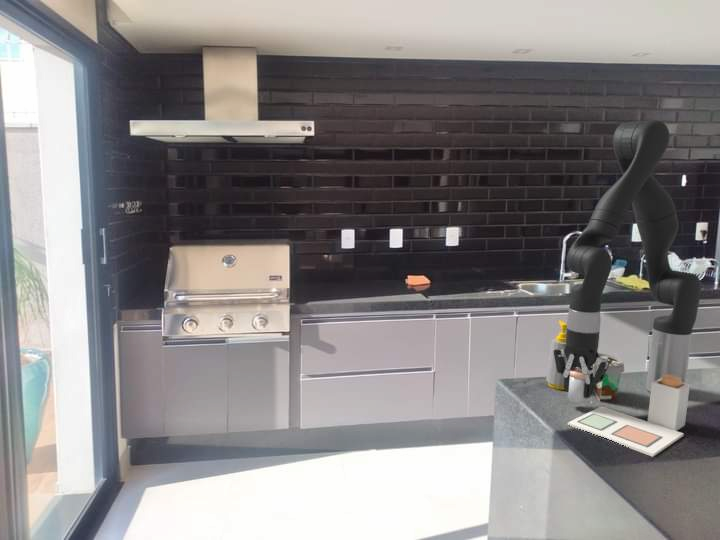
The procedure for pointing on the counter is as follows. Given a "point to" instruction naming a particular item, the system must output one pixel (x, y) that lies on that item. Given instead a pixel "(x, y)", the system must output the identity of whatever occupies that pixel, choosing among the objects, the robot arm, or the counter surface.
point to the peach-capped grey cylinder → (576, 386)
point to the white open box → (668, 405)
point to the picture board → (627, 430)
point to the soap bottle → (553, 376)
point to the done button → (671, 381)
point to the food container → (609, 379)
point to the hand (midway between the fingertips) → (577, 393)
